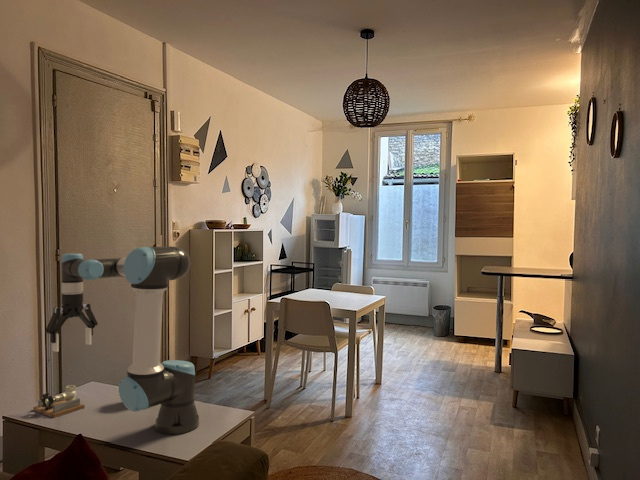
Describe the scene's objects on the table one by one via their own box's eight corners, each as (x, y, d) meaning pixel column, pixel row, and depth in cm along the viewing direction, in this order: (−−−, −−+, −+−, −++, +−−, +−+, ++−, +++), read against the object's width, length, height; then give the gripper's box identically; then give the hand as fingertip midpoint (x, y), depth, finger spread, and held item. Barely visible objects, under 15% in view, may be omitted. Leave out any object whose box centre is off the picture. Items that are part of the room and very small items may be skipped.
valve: (70, 399, 195) (40, 408, 185) (70, 383, 195) (40, 391, 185) (80, 403, 192) (50, 412, 182) (80, 386, 192) (50, 394, 182)
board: (84, 408, 190) (84, 398, 190) (54, 417, 180) (54, 407, 180) (63, 400, 197) (63, 391, 197) (33, 410, 187) (33, 400, 187)
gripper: (95, 289, 202) (95, 340, 202) (34, 295, 180) (34, 353, 180) (106, 290, 198) (106, 342, 198) (46, 297, 176) (46, 355, 176)
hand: (72, 347), depth 189 cm, fingers open, 13 cm apart
